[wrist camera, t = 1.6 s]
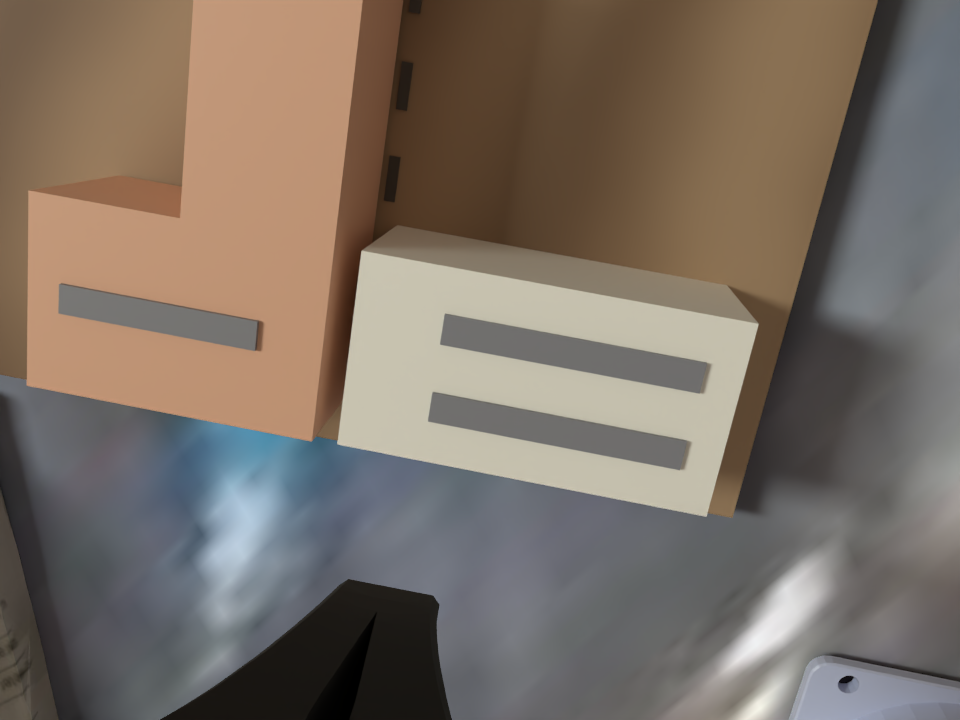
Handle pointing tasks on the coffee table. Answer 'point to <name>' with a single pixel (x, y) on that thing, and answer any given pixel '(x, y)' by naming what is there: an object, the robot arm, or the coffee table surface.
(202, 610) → the coffee table surface
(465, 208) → the board
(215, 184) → the block
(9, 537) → the packaged product
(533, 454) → the white toaster
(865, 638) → the coffee table surface
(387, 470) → the coffee table surface
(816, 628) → the coffee table surface
